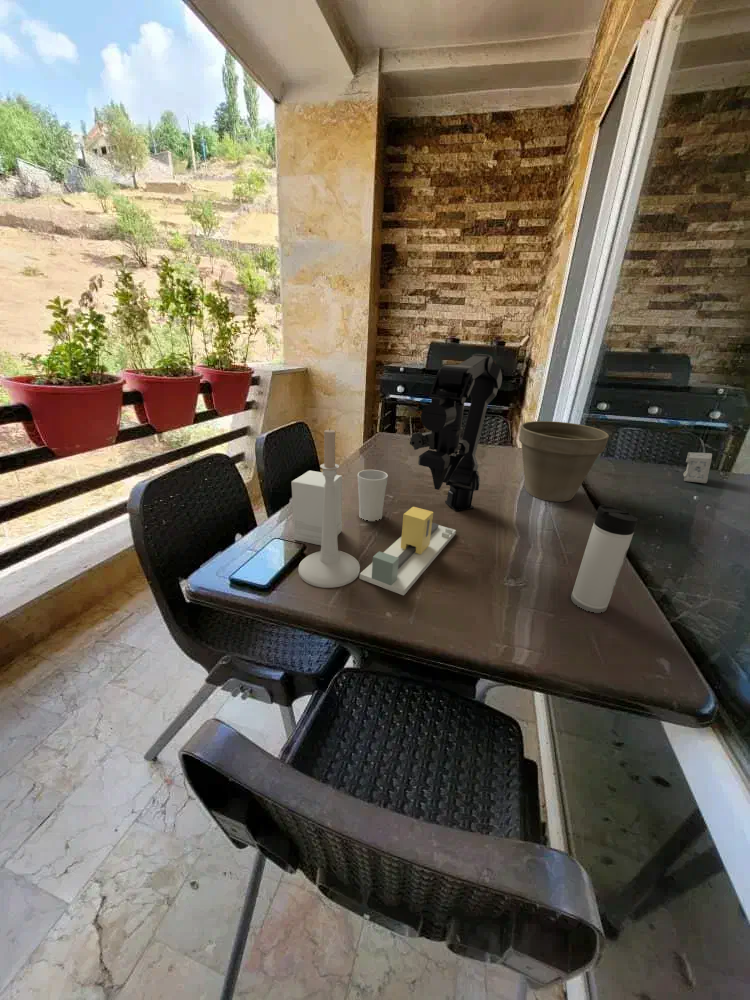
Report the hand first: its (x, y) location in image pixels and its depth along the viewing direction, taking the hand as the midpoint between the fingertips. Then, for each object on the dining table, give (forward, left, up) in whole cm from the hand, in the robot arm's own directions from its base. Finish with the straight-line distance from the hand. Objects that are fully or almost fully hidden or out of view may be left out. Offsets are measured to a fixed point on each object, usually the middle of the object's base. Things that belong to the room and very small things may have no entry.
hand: (441, 485), depth 96 cm
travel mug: (-14, +36, -12) cm, 40 cm away
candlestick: (+31, +11, -12) cm, 35 cm away
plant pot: (-49, -13, -12) cm, 52 cm away
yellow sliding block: (+11, +9, -11) cm, 17 cm away
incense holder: (-117, -10, -12) cm, 118 cm away
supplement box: (+30, -4, -12) cm, 33 cm away
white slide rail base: (+11, +10, -12) cm, 19 cm away
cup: (+14, -11, -12) cm, 22 cm away
